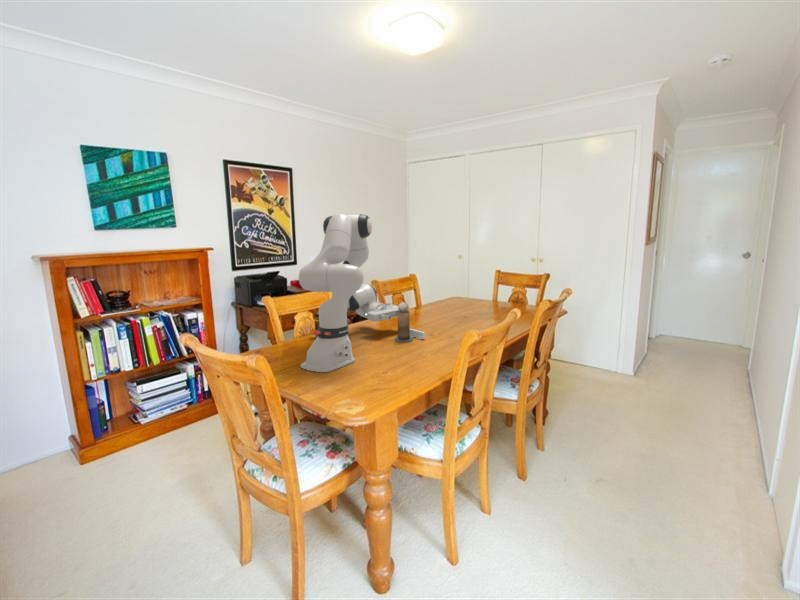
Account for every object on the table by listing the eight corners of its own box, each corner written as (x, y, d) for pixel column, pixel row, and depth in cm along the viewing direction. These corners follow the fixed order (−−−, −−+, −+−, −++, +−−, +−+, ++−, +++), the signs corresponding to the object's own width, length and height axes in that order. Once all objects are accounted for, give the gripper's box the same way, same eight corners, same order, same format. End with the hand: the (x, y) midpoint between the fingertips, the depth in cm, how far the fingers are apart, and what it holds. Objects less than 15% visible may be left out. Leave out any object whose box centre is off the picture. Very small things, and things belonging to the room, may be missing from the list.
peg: (406, 340, 185) (406, 303, 182) (395, 339, 187) (395, 302, 184) (411, 337, 190) (411, 301, 187) (401, 336, 192) (400, 300, 189)
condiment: (311, 338, 194) (310, 314, 192) (324, 334, 201) (322, 311, 199) (322, 340, 190) (320, 315, 188) (334, 336, 197) (333, 312, 195)
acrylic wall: (424, 339, 188) (424, 332, 187) (423, 340, 187) (423, 332, 187) (405, 333, 198) (404, 327, 198) (403, 334, 198) (403, 327, 197)
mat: (408, 343, 183) (408, 341, 183) (391, 340, 187) (391, 339, 187) (416, 338, 191) (416, 336, 191) (399, 336, 195) (399, 334, 195)
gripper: (361, 309, 193) (380, 313, 183) (393, 302, 206) (411, 306, 196) (362, 321, 194) (380, 326, 184) (393, 314, 208) (412, 319, 198)
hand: (396, 316), depth 190 cm, fingers open, 8 cm apart
